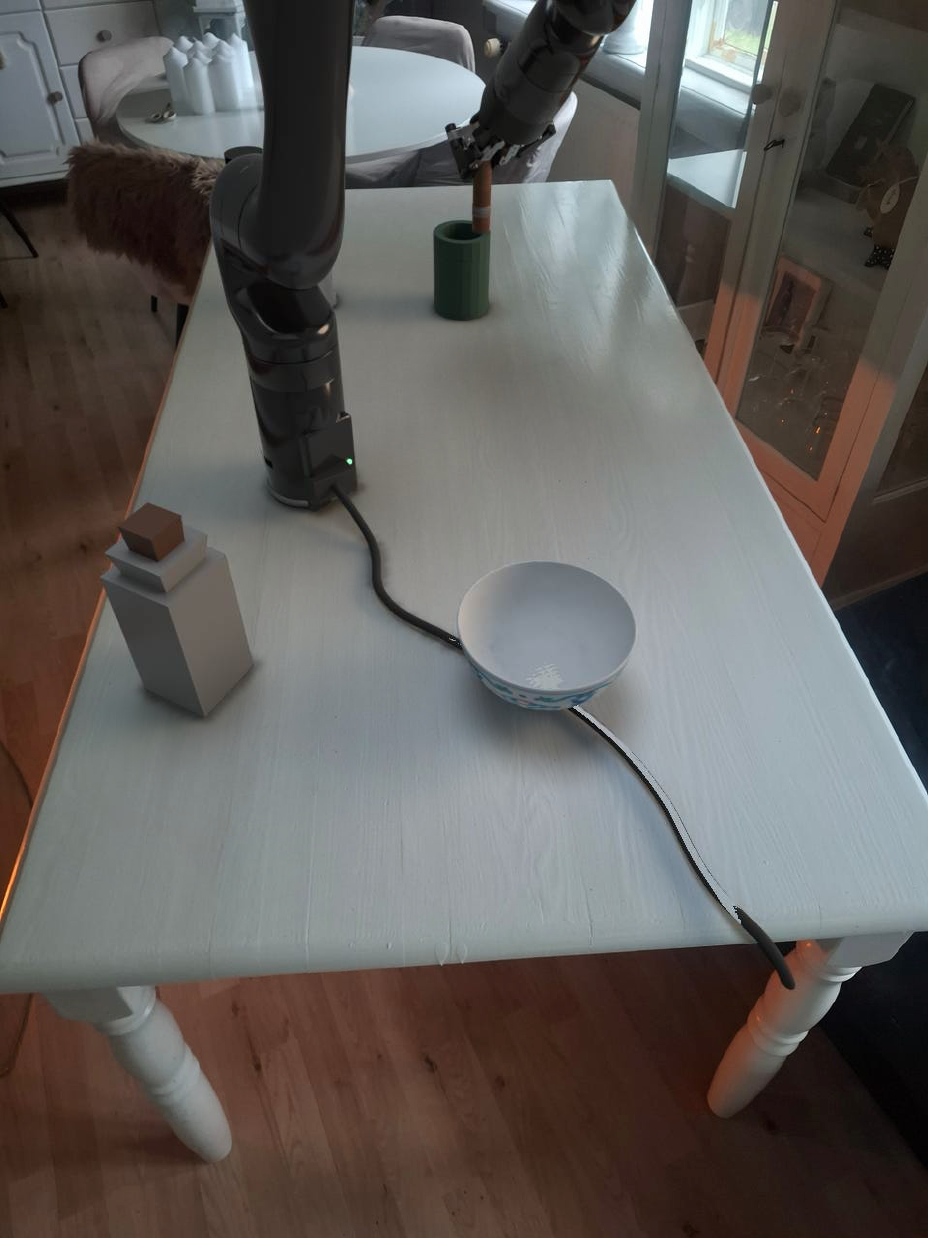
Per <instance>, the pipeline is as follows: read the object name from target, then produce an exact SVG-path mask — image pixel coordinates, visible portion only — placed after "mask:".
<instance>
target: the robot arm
mask: <svg viewBox="0 0 928 1238" xmlns="http://www.w3.org/2000/svg"><path fill="white" fill-rule="evenodd" d="M241 2H242V6H243V11H244V16H245V19H246V24H247V28H248V31H249V36H250V39H251V44H252V48H253V51H254V55H255V59H256V65H257V68H258V74H259V78H260V85H261V91H262V99H263V100H262V101H263V138H262V139H263V141H262V149H263V153H262V154H246V155H242V156H239V157H237V158H235V159H233V160H232V161H230V162H229V163H228V164H226V165H224V166H223V167H222V169H220V171H219V173H218V174H217V176H216V178H215V180H214V181H213V185H212V188H211V191H210V198H209V205H208V217H209V226H210V233H211V234H210V235H211V238H212V244H213V249H214V253H215V257H216V262H217V266H218V270H219V274H220V279H221V283H222V288H223V293H224V295H225V300H226V304H227V307H228V309H229V312H230V314H231V316H232V318H233V320H234V322H235V324H236V327H237V328H238V330H239V333H240V336H241V341H242V346H243V351H244V356H245V362H246V367H247V371H248V372H247V374H248V379H249V383H250V384H249V385H250V390H251V395H252V400H253V407H254V411H255V417H256V422H257V427H258V432H259V433H258V434H259V438H260V444H261V447H259V451H260V454H261V457H262V461H263V464H264V467H265V471H266V477H267V478H266V480H267V485H268V490H269V493H270V494H271V495H272V496H273V498H275V499H277V501H279V502H281V503H283V504H285V505H289V506H292V507H297V508H308V509H311V510H312V511H313V512H318V511H320V510H322V509H324V508H326V507H328V506H329V505H331V504H332V503H334V502H336V501H338V500H339V501H340V502H341V503H342V505H343V507H344V508H345V509H346V511H347V513H348V514H349V515H350V516H351V518H352V520H353V521H354V523H355V524H356V526H357V527H358V529H359V530H360V532H361V533H362V535H363V537H364V539H365V541H366V542H367V545H368V548H369V551H370V555H371V579H372V586H373V589H374V592H375V594H376V596H377V597H378V598H379V600H380V601H381V603H382V604H383V606H385V608H387V609H388V610H389V611H390V612H392V614H394V615H395V616H397V617H398V618H399V619H401V620H403V621H405V622H406V623H408V624H410V625H411V626H414V627H416V628H418V629H419V630H421V631H424V632H426V633H428V634H429V635H431V636H434V637H436V638H438V639H439V640H442V641H443V642H445V643H446V644H449V645H450V646H452V647H454V648H455V649H457V650H459V651H461V652H463V653H464V651H463V649H462V646H461V645H460V644H461V643H460V640H459V639H458V638H459V637H457V636H455V635H453V634H451V633H450V632H448V631H446V630H444V629H443V628H440V627H438V626H436V625H434V624H432V623H431V622H428V621H427V620H424V619H422V618H420V617H418V616H416V615H414V614H412V613H410V612H409V611H407V610H406V609H404V608H403V607H402V606H400V605H399V604H397V602H395V601H394V600H393V598H392V597H390V595H389V594H388V592H387V591H386V589H385V587H384V585H383V582H382V564H381V562H382V561H381V552H380V549H379V544H378V542H377V539H376V537H375V535H374V533H373V532H372V530H371V528H370V526H369V525H368V523H367V522H366V520H365V519H364V517H363V516H362V514H361V513H360V511H359V510H358V508H357V507H356V506H355V504H354V503H353V501H352V500H351V499H350V497H349V496H348V495H347V494H350V493H351V492H353V491H354V490H356V489H358V487H359V485H358V474H357V472H358V471H357V464H356V453H355V440H354V431H353V421H352V415H351V414H350V413H349V412H347V411H346V404H345V395H344V394H345V393H344V383H343V374H342V364H341V363H342V362H341V352H340V342H339V332H338V331H339V330H338V324H337V323H338V322H337V316H336V312H335V309H334V307H333V308H332V306H331V304H330V303H329V301H328V300H327V298H326V297H325V295H324V294H323V292H322V291H321V289H320V287H319V286H318V284H319V283H320V282H321V281H322V280H324V279H325V277H326V276H327V275H328V273H329V272H330V271H331V269H332V270H333V267H334V266H335V264H336V262H337V259H338V256H339V253H340V251H341V247H342V243H343V238H344V231H345V219H346V217H345V216H346V153H347V152H346V148H347V147H346V145H347V142H346V141H347V140H346V138H347V117H348V116H347V115H348V104H349V103H348V101H349V90H350V80H351V67H352V58H353V45H354V44H353V43H354V34H355V33H354V31H355V22H356V21H355V20H356V13H357V12H356V10H357V2H358V0H241ZM636 3H637V0H537V1H536V2H535V4H534V5H533V7H532V8H531V10H530V11H529V13H528V15H527V17H526V19H525V21H524V22H523V24H522V26H521V27H520V29H519V31H518V33H517V34H516V35H515V36H514V37H513V38H512V39H511V41H510V42H509V44H508V45H507V47H506V49H505V51H504V53H503V54H502V56H501V58H500V60H499V61H498V63H497V65H496V66H495V68H494V71H493V72H492V74H491V75H490V77H489V79H488V81H487V83H486V85H485V86H484V88H483V91H482V95H481V98H480V99H481V100H480V105H479V109H478V111H477V112H475V113H474V114H473V115H472V116H471V117H470V119H469V120H468V121H469V122H468V124H466V125H464V126H457V124H456V123H455V122H450V123H448V124H446V125H445V127H444V130H445V133H446V137H447V140H448V143H449V147H450V150H451V153H452V155H453V158H454V161H455V163H456V167H457V168H456V169H457V172H458V175H459V179H460V180H461V181H462V182H463V184H469V183H471V182H472V181H473V177H474V175H475V174H476V173H477V171H478V169H479V166H480V165H481V164H482V163H483V161H488V160H490V159H491V157H492V178H493V177H494V175H495V174H496V173H498V172H499V170H500V168H501V167H502V166H504V165H506V164H507V163H509V161H510V159H511V158H514V160H515V161H516V160H517V161H518V160H521V159H523V158H525V157H526V156H528V155H529V154H530V153H531V152H532V151H534V150H536V149H537V148H538V147H540V146H541V145H542V144H544V143H545V142H547V141H548V140H549V139H551V138H552V137H553V136H555V135H556V134H557V129H556V125H555V123H554V119H555V118H556V116H557V115H558V113H559V112H560V110H561V109H562V108H563V106H564V105H565V103H567V100H568V99H569V98H570V96H571V94H572V92H573V90H574V88H575V87H576V84H577V82H578V81H579V79H580V78H581V76H582V75H583V73H584V72H585V71H586V69H587V68H588V66H590V64H591V62H592V61H593V59H594V58H595V56H596V54H597V52H598V51H599V48H600V47H601V45H602V42H603V40H604V39H605V36H607V35H609V34H612V33H614V32H615V31H616V30H618V29H619V28H620V27H621V26H622V25H623V24H624V22H625V21H626V20H627V18H628V17H629V16H630V13H631V12H632V10H633V9H634V7H635V4H636ZM456 637H457V638H456ZM449 638H450V639H453V640H456V641H452V640H450V639H449ZM458 643H459V644H458ZM566 710H568V711H569V712H571V713H572V714H573V715H575V716H576V717H578V718H579V719H580V720H581V721H583V723H585V724H586V725H588V727H590V728H591V729H592V730H593V731H595V733H597V734H598V735H599V736H600V737H602V738H603V740H604V741H606V742H607V743H608V744H609V745H610V746H611V747H612V748H613V749H614V750H615V751H616V752H617V753H618V754H619V755H620V756H621V757H622V758H623V760H624V761H625V762H626V763H627V764H628V765H629V767H631V769H632V770H633V771H634V772H635V774H636V775H637V776H638V777H639V779H640V780H641V782H642V783H643V784H644V785H645V786H646V788H647V789H648V791H649V792H650V793H651V795H652V796H653V798H654V799H655V800H656V802H657V803H658V805H659V807H660V808H661V810H662V812H663V813H664V815H665V817H666V819H667V820H668V822H669V824H670V827H671V828H672V830H673V832H674V835H675V836H676V838H677V841H678V843H679V844H680V845H679V846H680V847H681V849H682V851H683V853H684V855H685V857H686V858H687V860H688V862H689V864H690V866H691V868H692V869H693V871H694V872H695V874H696V875H697V877H698V878H699V880H700V882H701V883H702V884H703V886H704V887H705V889H706V890H707V891H708V892H709V894H710V895H711V896H712V897H713V899H714V900H715V901H716V902H717V904H719V906H721V907H722V908H723V909H724V910H725V912H727V913H728V914H729V915H730V913H729V912H728V911H727V910H726V908H725V907H724V906H723V905H722V903H721V902H720V900H719V899H718V897H717V895H716V894H715V892H714V891H713V889H712V888H711V886H710V885H709V883H708V882H707V880H706V879H705V877H704V876H703V874H702V873H701V871H700V870H699V868H698V866H697V865H696V863H695V861H694V860H693V858H692V856H691V854H690V852H689V851H688V849H687V847H686V845H685V843H684V841H683V839H682V837H681V835H680V833H679V831H678V829H677V827H676V825H675V823H674V821H673V819H672V817H671V815H670V813H669V811H668V809H667V808H666V806H665V804H664V803H663V801H662V800H661V798H660V797H659V795H658V794H657V792H656V791H655V790H654V788H653V787H652V785H651V784H650V783H649V781H648V780H647V779H646V778H645V776H644V775H643V774H642V772H641V771H640V770H639V769H638V767H637V766H636V765H635V764H634V763H633V761H632V760H631V759H630V758H629V757H628V756H627V755H626V753H625V752H624V751H623V750H622V749H621V748H620V747H619V746H618V745H617V744H616V743H615V742H614V741H613V740H612V739H611V738H610V737H608V736H607V735H606V734H605V733H604V732H603V731H602V730H601V729H599V728H598V727H597V726H596V725H595V724H594V723H592V722H591V721H590V720H589V719H588V718H586V717H585V716H584V715H582V714H581V713H580V712H578V711H577V710H576V709H574V708H573V707H571V708H566ZM591 715H592V716H594V715H593V714H591ZM603 725H604V726H606V725H605V724H603ZM611 732H612V733H613V734H615V733H614V732H613V731H611ZM632 753H633V754H634V755H635V756H636V754H635V753H634V752H633V751H632ZM636 757H637V756H636ZM639 761H640V762H641V763H642V764H643V762H642V761H641V760H640V759H639ZM644 767H645V768H646V769H647V770H648V768H647V767H646V766H645V765H644ZM648 772H649V773H650V774H651V772H650V771H649V770H648ZM652 777H653V778H654V779H655V777H654V776H653V775H652ZM655 781H656V782H657V783H658V781H657V780H656V779H655ZM658 785H659V786H660V787H661V785H660V784H659V783H658ZM661 789H662V790H663V788H662V787H661ZM663 792H664V793H665V794H666V792H665V791H664V790H663ZM666 796H667V797H668V795H667V794H666ZM668 799H669V800H670V798H669V797H668ZM670 802H671V804H672V805H673V807H674V809H675V811H676V812H677V814H678V816H679V818H680V820H681V822H682V824H683V826H684V828H685V830H686V832H687V834H688V836H689V838H690V840H691V842H692V844H693V846H694V848H695V849H696V851H697V853H698V855H699V857H700V858H701V860H702V862H703V863H704V865H705V867H706V868H707V870H708V871H709V873H710V874H711V876H712V877H713V878H714V876H713V875H712V873H711V871H710V870H709V869H708V867H707V865H706V863H705V862H704V861H703V859H702V857H701V856H700V854H699V852H698V850H697V848H696V846H695V844H694V842H693V840H692V839H691V836H690V834H689V833H688V830H687V829H686V826H685V824H684V823H683V820H682V819H681V817H680V815H679V813H678V811H677V810H676V807H675V806H674V804H673V803H672V801H671V800H670ZM714 880H715V881H716V882H717V880H716V879H715V878H714ZM717 884H718V885H719V886H720V887H721V885H720V884H719V883H718V882H717ZM723 891H724V892H725V893H726V891H725V890H724V889H723ZM733 907H734V909H735V910H737V911H735V913H737V915H738V919H740V920H741V925H742V926H743V927H742V926H741V925H740V926H741V927H742V928H743V929H744V931H746V932H747V933H748V934H749V935H750V936H751V937H752V939H753V940H754V941H755V942H756V943H757V945H759V946H760V948H761V950H762V951H763V952H764V954H765V955H766V956H767V958H768V959H769V960H770V962H771V964H772V965H773V968H774V969H775V972H776V973H777V975H778V978H779V981H780V983H781V985H782V986H783V987H784V988H785V989H787V990H789V991H793V990H795V988H796V986H797V985H796V981H795V979H794V976H793V973H792V971H791V969H790V967H789V964H788V963H787V961H786V959H785V958H784V956H783V954H782V952H781V951H780V949H779V948H778V946H777V945H776V943H775V942H774V941H773V939H772V938H771V937H770V936H769V935H768V933H766V931H765V930H764V929H763V928H762V927H761V926H760V925H759V924H758V923H757V922H756V921H755V920H754V919H753V918H752V917H751V916H750V915H748V914H747V912H746V911H744V909H742V908H741V907H740V908H741V909H740V908H738V907H737V908H735V907H736V906H733ZM749 916H750V917H751V918H752V919H753V920H754V921H755V922H754V921H753V920H752V919H751V918H750V917H749Z"/></svg>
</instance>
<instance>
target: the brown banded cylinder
mask: <svg viewBox="0 0 928 1238" xmlns="http://www.w3.org/2000/svg"><path fill="white" fill-rule="evenodd" d="M492 178H493V177H492V157H491V159H490V160H488V161H483V163H482V164H481V165H480V166H479V169H478V171H477V173H476V174H475V175H474V177H473V179H472V203H471V221H472V231H473V232H475V233H478V234H485V233H488V232H489V231H491V215H492Z"/></svg>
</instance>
